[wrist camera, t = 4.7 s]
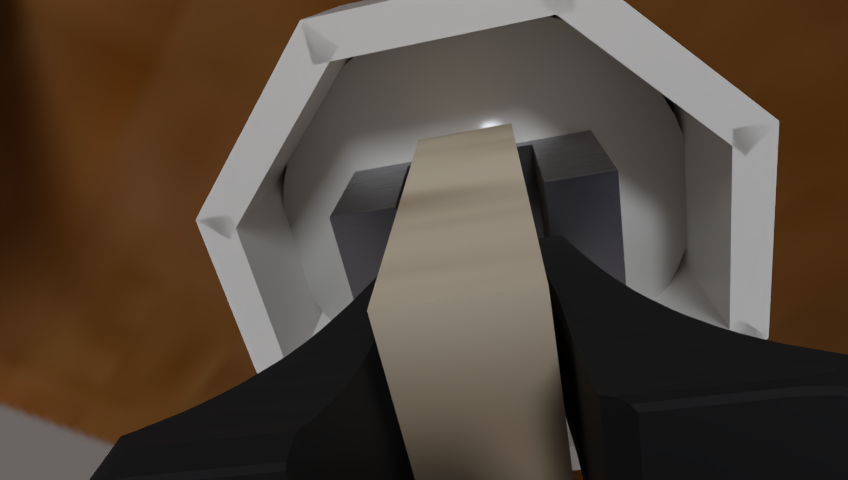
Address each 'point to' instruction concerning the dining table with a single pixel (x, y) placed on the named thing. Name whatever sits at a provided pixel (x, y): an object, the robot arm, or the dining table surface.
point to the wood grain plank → (470, 318)
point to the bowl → (531, 120)
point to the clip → (547, 191)
